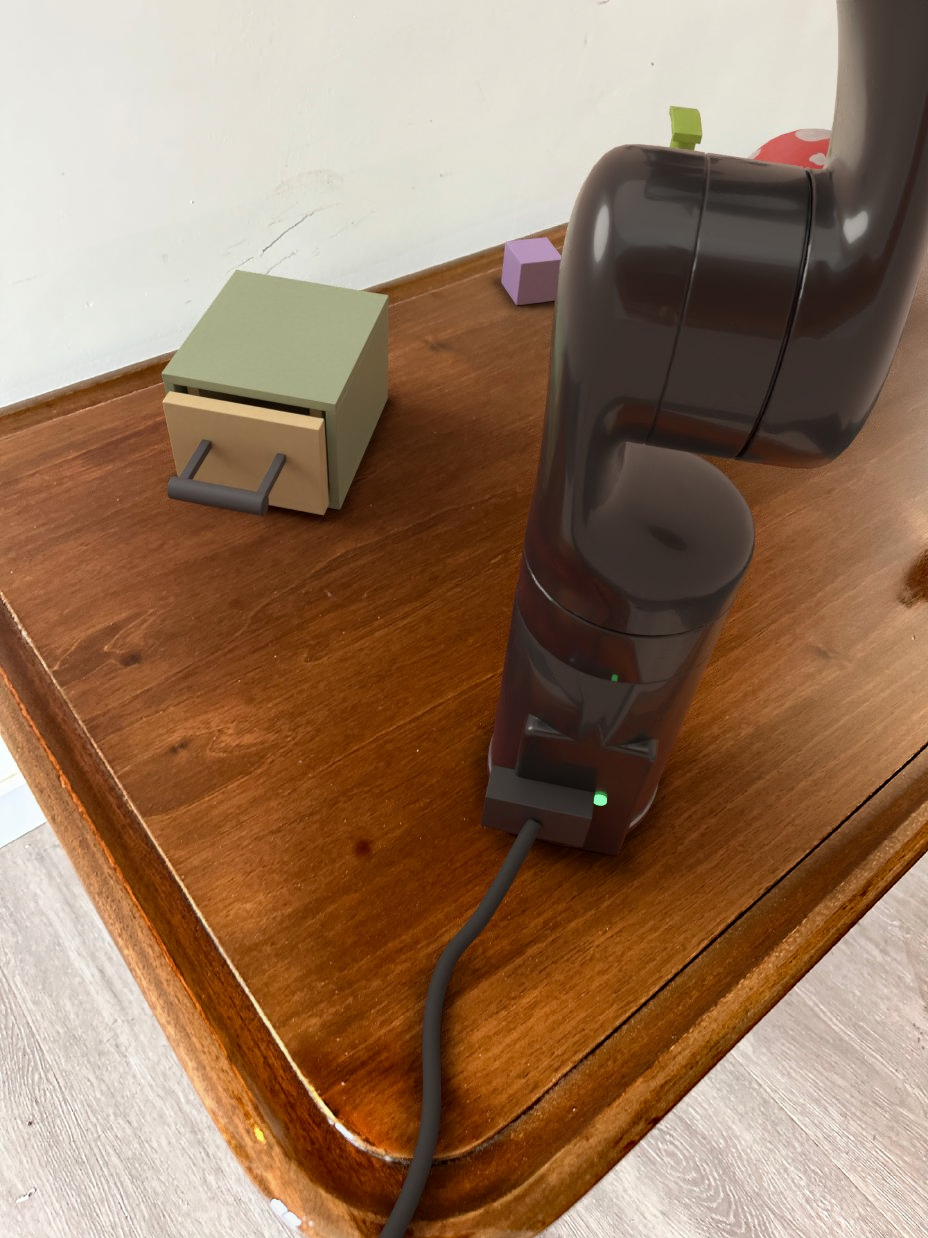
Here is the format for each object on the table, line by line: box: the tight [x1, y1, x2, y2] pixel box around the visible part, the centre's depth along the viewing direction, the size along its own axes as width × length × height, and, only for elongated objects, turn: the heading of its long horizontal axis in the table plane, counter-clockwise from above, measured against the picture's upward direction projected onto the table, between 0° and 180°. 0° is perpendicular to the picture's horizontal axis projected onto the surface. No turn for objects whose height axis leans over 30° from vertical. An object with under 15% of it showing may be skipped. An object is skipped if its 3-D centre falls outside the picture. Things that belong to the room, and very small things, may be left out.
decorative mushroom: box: [747, 128, 832, 169], centre depth 82 cm, size 13×13×15 cm
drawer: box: [162, 386, 329, 517], centre depth 64 cm, size 18×10×7 cm, turn 169°
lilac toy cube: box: [500, 236, 562, 306], centre depth 85 cm, size 4×4×4 cm
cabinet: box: [161, 269, 390, 510], centre depth 67 cm, size 13×11×9 cm
